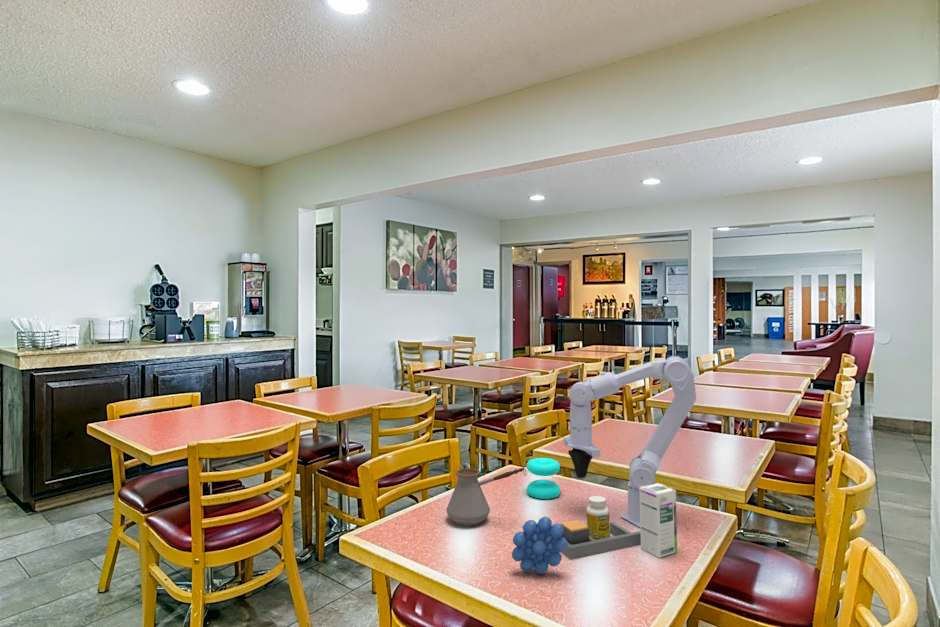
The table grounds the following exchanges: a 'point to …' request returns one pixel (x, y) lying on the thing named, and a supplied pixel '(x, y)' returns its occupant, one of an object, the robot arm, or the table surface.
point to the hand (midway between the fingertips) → (581, 477)
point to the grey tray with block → (586, 545)
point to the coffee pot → (471, 497)
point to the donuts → (543, 487)
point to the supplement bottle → (598, 518)
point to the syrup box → (658, 519)
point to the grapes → (539, 545)
